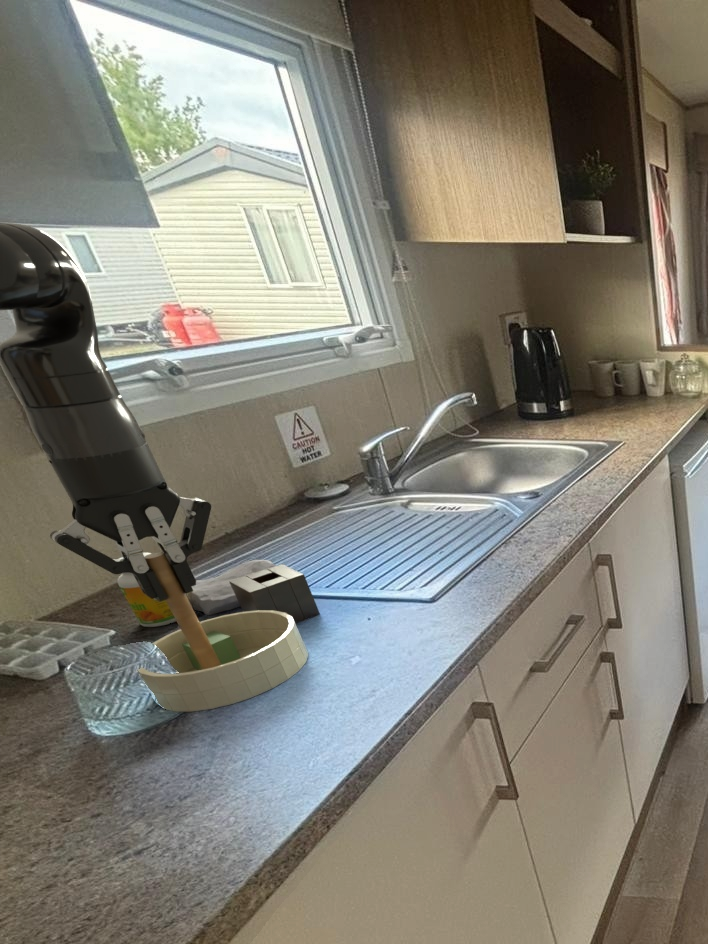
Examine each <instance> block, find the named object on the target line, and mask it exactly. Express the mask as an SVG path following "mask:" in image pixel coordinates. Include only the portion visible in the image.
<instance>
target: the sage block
mask: <svg viewBox="0 0 708 944" xmlns="http://www.w3.org/2000/svg"><path fill="white" fill-rule="evenodd" d="M206 636H207V638H208V640H209V641H210V643H211V645H212V647H213V649H214V651H215V653H216V655H217V657H218V659H219V661H220V663H221V665H223V664H226V663H229V662H232V661H235V660H238V659H240V658H241V657H240V654H239V652H238V650H237V648H236V646H235V644H234V642H233V640H232V638H231V636H228V635H225V634H222V633H218V632H215V631H213V632H210V633H208V634H206ZM182 646H183V648H184V650H185V652H186V654H187V656H188V657H189V659H190V661H191V663H192V665H193V667H194V668H195V669H197V670H202V668H201V666H200V664H199V663H198V661H197V659H196V657H195V655H194V653H193V651H192V649H191V647H190V646H189V644H188V642H186V643H184V644H182Z"/></svg>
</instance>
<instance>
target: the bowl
mask: <svg viewBox="0 0 708 944" xmlns="http://www.w3.org/2000/svg"><path fill="white" fill-rule="evenodd" d="M199 622H200V624H201V626H202V628H203V630H204V632H205V634H208V633H210V632H213V631H215V632H218V633H222V634H225V635H228V636H231V638H232V640H233V642H234V644H235V646H236V648H237V650H238V652H239V654H240V657H241V658H240V659H238V660H235V661H232V662H229V663H226V664H223V665H219V666H216V667H213V668H208V669H203V670H197V669H195V668H194V667H193V665H192V663H191V661H190V659H189V657H188V656H187V654H186V652H185V650H184V648H183V646H182V644H184V643H186V642H187V640H186V638H185V636H184V634H183V632H182V630H181V628H180V629H177V630H175V631H173V632H171V633H168V634H166V635H165V636H162V637H161V638H159V639H157V640H156V641H154V642H152V643H151V644H154V645H156V646H157V647H158V648H159V649H160V650H161V651H162V652H163V653H164V654H165V656H166V657H167V659H168V661H169V662H170V664H171V665H172V666H173V668H174V669H175V670H177V671H178V672H179V673H176V674H161V673H154V672H150V671H147V670H146V669H144V668H143V667H141V668H140V669H138V670H137V671H138V673H139V674H140V676H141V678H142V679H143V681H144V682H145V684H146V685H147V686H148V688H149V689H150V690H151V691H152V692H153V693H154V695H155V697H156V699H157V701H158V703H159V704H160V705H161V706H162V707H164V709H163V710H165V709H166V711H170V712H177V713H178V712H181V713H192V712H199V711H207V710H208V711H209V710H213V709H218V708H222V707H227V706H231V705H234V704H237V703H240V702H243V701H245V700H249V699H252V698H254V697H257V696H259V695H261V694H264V693H265V692H268V691H270V690H272V689H275V688H277V687H278V686H279V685H281V684H283V683H285V682H287V681H288V680H289V679H291V678H292V677H293V676H295V674H297V673H298V672H300V671H301V669H302V668H304V667H303V666H304V665H305V664H306V663H307V661H308V657H309V652H308V650H307V647H306V645H305V642H304V641H303V638H302V635H301V633H300V631H299V629H298V626H297V623H296V624H295V622H294V619H293V617H292V616H290V615H288V614H287V613H284V612H279V611H273V610H256V611H246V612H243V611H240V612H235V613H230V614H223V615H219V616H216V617H213V618H208V619H205V620H201V621H199Z"/></svg>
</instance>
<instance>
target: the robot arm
mask: <svg viewBox="0 0 708 944" xmlns="http://www.w3.org/2000/svg"><path fill="white" fill-rule="evenodd" d="M0 311H12V314H13V318H14V324H15V333H14V334H13V335H12V336H11V337H10V338H7V339H6V340H3V341H2V342H0V367H1V370H2V372H3V373H4V376H5V377H6V379H7V381H8V382H9V384H10V386H11V388H12V390H13V392H14V394H15V395H16V397H17V399H18V401H19V402H20V404H21V406H22V407H23V410H24V412H25V414H26V417H27V421H28V423H29V426H30V429H31V430H32V433H33V435H34V437H35V438H36V440H37V442H38V444H39V446H40V447H41V449H42V451H43V453H44V455H45V456H46V458H47V460H48V462H49V464H50V466H51V467H52V469H53V471H54V473H55V474H56V476H57V478H58V480H59V481H60V483H61V485H62V487H63V488H64V491H65V492H66V494H67V496H68V497H69V499H70V502H71V504H72V511H71V516H72V517H71V518H73V520H72V521H70V522H69V523H68V524H67V525H65V526H64V527H63V528H61V529H57V530H53V531H52V532H50V534H49V537H50V539H51V540H52V541H53V542H55V543H56V544H58V545H60V546H61V547H63V548H65V549H67V550H69V551H71V552H72V553H74V554H76V555H78V556H79V557H81V558H83V559H85V560H87V561H88V562H90V563H92V564H94V565H96V566H99V567H100V568H101V569H104V570H105V571H108V572H109V573H111V574H112V575H122V573H132V574H133V575H134V577H135V579H136V581H137V583H138V585H139V586H140V588H141V590H142V592H143V593H144V594H145V595H147V596H148V597H150V598H151V599H154V598H155V599H156V600H158V601H159V602H161V601H164V600H168V598H167V596H166V594H165V592H164V590H163V588H162V586H161V584H160V582H159V580H158V578H157V576H156V575H155V573H154V571H153V570H151V569H149V567H148V565H147V562H146V560H145V557H144V555H143V553H144V552H143V551H144V550H143V548H142V544H141V543H140V541H141V540H143V539H145V538H150V537H151V538H152V540H153V541H154V542H155V543H156V545H157V547H158V548H159V550H160V551H161V552H163V553H165V555H166V557H167V559H168V561H169V563H170V565H171V567H172V569H173V571H174V573H175V575H176V577H177V579H178V581H179V583H180V585H181V587H182V589H183V591H184V593H189V592H192V591H193V588H192V586H195V585H196V578H195V576H194V574H193V571H192V569H191V567H190V565H189V562H188V557H189V556H191V555H192V554H194V553H198V552H200V551H201V550H202V549H203V546H204V545H203V544H204V541H205V536H206V533H207V527H208V523H209V519H210V516H211V511H212V504H211V503H210V502H208V501H206V500H204V499H201V498H199V497H193V498H189V497H184V496H180V495H179V494H178V493H177V492H176V491H175V490H173V489H172V487H170V486H169V485H168V483H167V482H166V478H165V477H164V475H163V473H162V471H161V469H160V467H159V465H158V463H157V461H156V458H155V457H154V453H152V451H151V448H150V446H149V444H148V442H147V440H146V435H145V433H144V431H143V429H142V428H141V427H140V424H139V423H138V421H137V419H136V418H135V416H134V414H133V413H132V410H131V409H130V408H129V407H128V405H127V403H126V402H125V400H124V398H123V397H122V395H121V393H120V391H119V389H118V387H117V384H116V383H115V381H114V378H113V376H112V374H111V372H110V370H109V369H108V366H107V364H106V362H105V361H104V359H103V357H102V355H101V351H100V344H99V334H98V327H97V322H96V318H95V317H96V316H95V311H94V306H93V300H92V296H91V291H90V288H89V285H88V283H87V279H86V277H85V274H84V272H83V271H82V269H81V267H80V265H79V264H78V263H77V261H76V260H75V258H74V257H73V256H72V254H71V253H70V252H69V251H68V250H67V249H66V248H65V247H64V246H63V245H62V244H61V243H60V242H59V241H57V240H56V239H55V238H54V237H53V236H51V235H49V234H48V233H46V232H44V231H43V230H41V229H38V228H35V227H32V226H30V225H25V224H21V223H13V222H11V223H10V222H0ZM179 507H180V512H181V514H182V515H183V516H185V520H184V522H183V523H184V524H183V528H182V532H181V537H180V541H179V542H178V539H177V538H176V536H175V534H174V533H173V531H172V529H171V527H172V524H173V521H174V519H175V516H176V513H177V511H178V509H179ZM86 528H87V529H89V530H91V531H94V532H96V533H97V534H99V535H102V536H104V537H106V538H108V539H110V540H113V541H114V543H115V546H116V548H117V549H118V551H119V552H120V555H121V557H123V559H119V558H112V557H110V556H108V555H106V554H105V553H103V552H102V551H100V550H97V549H96V548H94V547H92V546H90V545H89V543H90V542H91V538H90V536H89V535H87V533H86V532H85V530H86Z"/></svg>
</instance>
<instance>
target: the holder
mask: <svg viewBox="0 0 708 944" xmlns="http://www.w3.org/2000/svg"><path fill="white" fill-rule="evenodd" d="M229 583H230V585H231V587H232V589H233V591H234V593H235V595H236V598H237V600H238V602H239V604H240V606H241V607H240V608H241V610H242V612H246V611H256V610H273V611H279V612H284V613H287V614H288V615H290V616H292V617H293V619H294V622H295V624H296V625H297V624H298V623H302V622H304V621H306V620H309V619H311V618H314V617H317V616H320V615H321V613H320V610H319V608H318V605H317V603H316V601H315V598H314V595H313V593H312V591H311V588H310V586H309V583H308V581H307V579H306V575H305V574H304V573H302V572H300V571H297V570H295V569H293V568H292V567H289V566H287V565H286V564H283V563H281V564H279V565H276V566H275V567H272V568H269V569H266V570H263V571H260V572H256V573H253V574H250V575H247V576H244V577H241V578H238V579H234V580H231V581H229Z"/></svg>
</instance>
